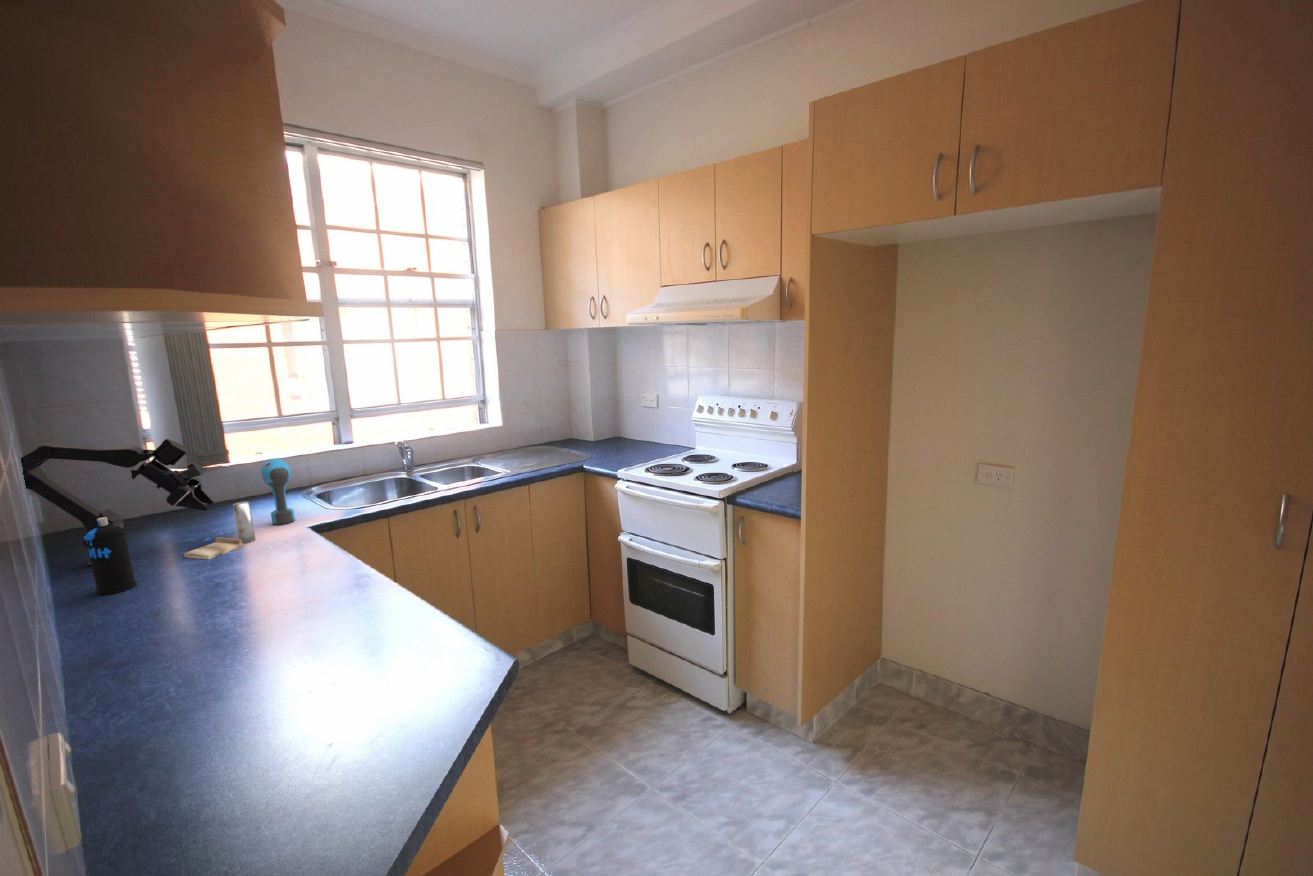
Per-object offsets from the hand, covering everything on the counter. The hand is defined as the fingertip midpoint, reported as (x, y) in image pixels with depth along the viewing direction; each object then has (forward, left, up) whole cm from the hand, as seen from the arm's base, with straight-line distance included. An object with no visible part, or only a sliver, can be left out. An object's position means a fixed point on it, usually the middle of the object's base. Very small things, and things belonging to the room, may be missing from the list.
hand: (209, 506), depth 188 cm
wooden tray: (-5, -5, -13) cm, 15 cm away
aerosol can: (-32, -6, -13) cm, 36 cm away
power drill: (+26, +2, -13) cm, 30 cm away
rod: (+5, -7, -13) cm, 16 cm away
